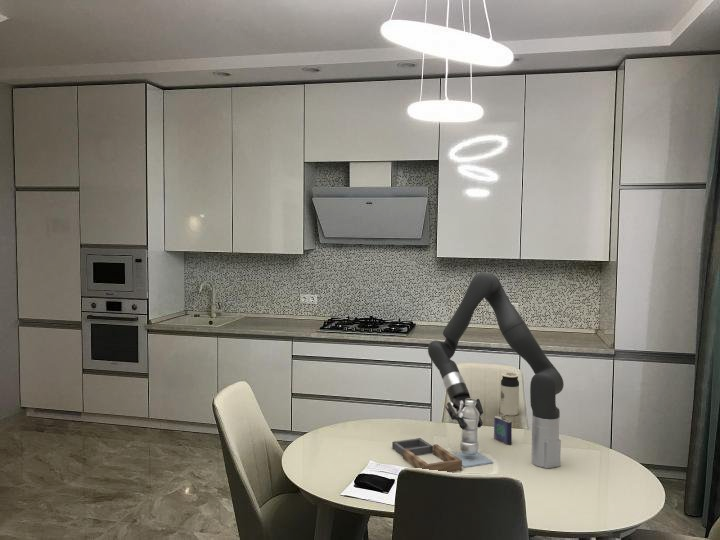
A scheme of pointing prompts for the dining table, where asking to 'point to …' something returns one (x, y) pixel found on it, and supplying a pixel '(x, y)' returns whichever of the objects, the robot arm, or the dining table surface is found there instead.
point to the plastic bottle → (470, 428)
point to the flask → (503, 429)
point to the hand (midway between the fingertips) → (472, 427)
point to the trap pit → (413, 446)
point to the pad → (473, 459)
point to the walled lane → (448, 464)
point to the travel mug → (509, 394)
